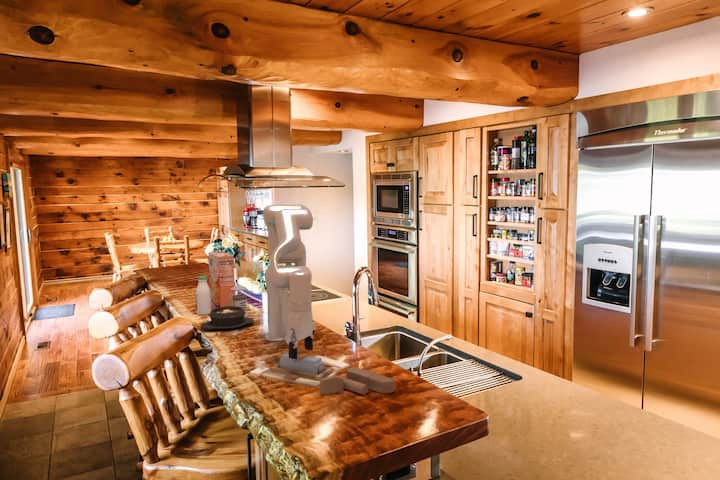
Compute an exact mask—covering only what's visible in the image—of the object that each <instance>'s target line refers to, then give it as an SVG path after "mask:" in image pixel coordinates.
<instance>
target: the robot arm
mask: <svg viewBox="0 0 720 480" xmlns="http://www.w3.org/2000/svg"><path fill="white" fill-rule="evenodd" d="M262 215H263V216H262V217H263V222H264V224H265V226H266V229H267V236H268V237H267V243H268V249H267V250H268V251H267V252H268V260H269V267H267V269H266V270H265V272H264V280H265V285H266V297H267V327H268V328H267V329H268V331H267V332H268V333H266V334H265V335H264V339H265V340H267V341H269V342H285V343H286V346H287V348H288V352H289V358H291V359H297V354H298V347H297V346H298V343H299V342H300V341H302V340H304V350H307V351H313V350H314V337H315V336H314V335H315V333H316V332H315V330H316V326H317V325H316V324H315V323H314V319H313V310H312V279H313V278H312V277H313V276H312V271H311V270H310V268H309V267H308V266H307V252H306V251H307V250H306V246H305V244H304V242H302V238H301V232H300V231H305V230H307V231H308V230H310V229H312V227H313V224H314V223H313V222H314V218H313V214H312V212H311V210H310V209H309V207H308V206H306V205H305V204H270V205H266V206H265V207H264V208H263V210H262ZM282 264H284V265H282ZM286 264H287V265H286ZM285 289H289V290H288V291H289V293H287V292H286V291H285Z"/></svg>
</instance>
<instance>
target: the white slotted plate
mask: <svg viewBox="0 0 720 480" xmlns="http://www.w3.org/2000/svg"><path fill="white" fill-rule="evenodd" d="M270 370H271V368H270V367H266V361H264V360H263V361H260V362H258V367H257V368H254V369H253V370H250V371H249V375H252V376H256V377H259V376H262V375H263V374H264V373H266V372H268V371H270Z"/></svg>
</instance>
